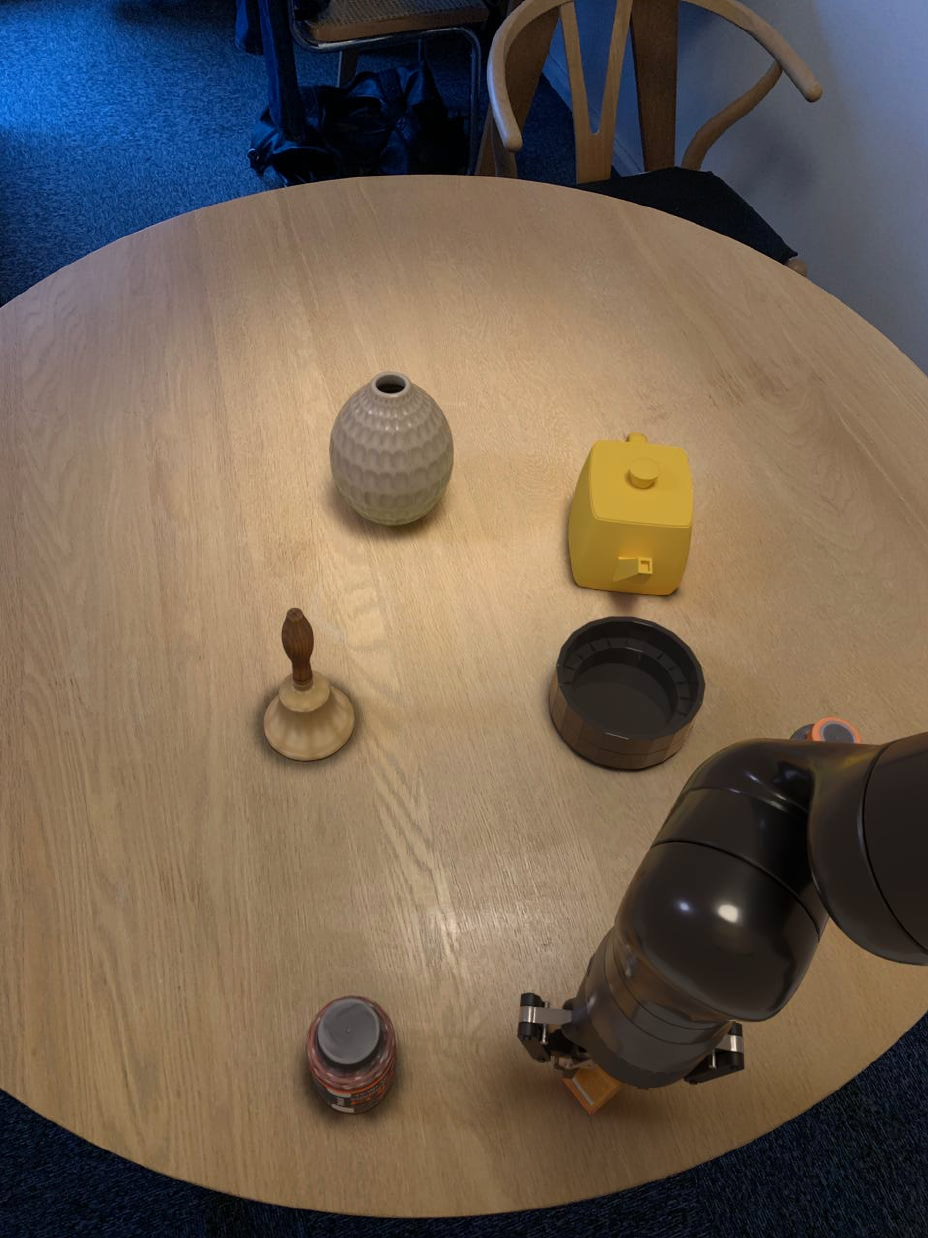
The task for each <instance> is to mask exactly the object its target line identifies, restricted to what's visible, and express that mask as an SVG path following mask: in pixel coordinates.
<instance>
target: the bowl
mask: <svg viewBox="0 0 928 1238" xmlns="http://www.w3.org/2000/svg"><path fill="white" fill-rule="evenodd" d="M705 691H706V681H705V677H704V672H703V667H702V665H701V663H700V661H699V659H698V658H697V655H695V653H694V651H693V649H692V647H690V646H689V645H688V644H687V643H686V642H685V641H684V640H682V638H680V637H679V635H677V634H676V633H675V632H674V631H672V630H670V629H668V628H666V627H664V626H663V625H660V624H658V623H657V622H655V621H652V620H648V619H644V618H639V617H637V616H632V615H631V616H629V615H625V616H624V615H623V616H622V615H621V616H620V615H610V616H606V617H602V618H597V619H594V620H590V621H588V622H586V623H585V624H583V625H581V626H580V627H579V628H577V629H575V630H574V631H572V633H571V634H570V635H569V636H568V637H567V639H566V640H565V641H564V643H563V644H562V645H561V647H560V650H559V653H558V657H557V661H556V663H555V668H554V673H553V677H552V682H551V687H550V691H549V695H548V699H549V708H550V716H551V718H552V719H553V722H554V724H555V726H556V729H557V730H558V733H559V734H560V735H561V737H562V738H563V739H564V740H565V741H566V742H567V743H568V744H569V745H570V746H571V747H572V748H573V749H574V750H575V751H576V752H577V753H578V754H581V755H582V756H585V757H586V758H588V759H590V760H591V761H592V762H593V763H597V764H599V765H603V766H607V767H611V768H615V769H644V768H647V767H651V766H653V765H656V764H660V763H663V762H664V761H666V760H667V759H668V758H670V757H671V756H672V755H674V754H675V753H677V752H678V751H679V750H680V748H681V747H682V745H683V744H684V742H685V740H686V739H687V737H688V735H689V734H690V731H691V730H692V727H693V724H694V723H695V722H696V719H697V716H698V715H699V712H700V711H701V708H702V706H703V704H704V697H705Z"/></svg>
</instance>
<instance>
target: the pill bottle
mask: <svg viewBox="0 0 928 1238" xmlns="http://www.w3.org/2000/svg"><path fill="white" fill-rule="evenodd" d="M789 739H790V740H807V741H836V742H849V743H860V744H863V741H862V737H861V735H860V733H859V731H858V730H857V729H856V728H855V727H854V726H853V725H852V724H851V723H850V722H848V721H846V720H844V719H842V718H839V717H833V716H828V717H823V718H820V719H819V720H817V721H816V722H815V723H810V724H806V725H803V726H801V727H800V728H797V730H795V731H794V732H793V733H792V734H791V736H790V737H789Z"/></svg>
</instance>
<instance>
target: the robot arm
mask: <svg viewBox="0 0 928 1238" xmlns="http://www.w3.org/2000/svg"><path fill="white" fill-rule="evenodd" d="M829 919H831V921H832V922H833V923H834V924H835V926H836V927H837V928H838V929H839V930H840V931H841V932H842V933H843V934H844V935H845V936H846V937H847V938H848V939H849V940H850V941H851V942H853V943H854V944H855V945H856V946H857V947H860V948H861V949H862V950H863V951H866V952H868V953H869V954H871V955H873V956H875V957H877V958H881V959H883V960H886V961H889V962H894V963H897V964H903V965H909V966H918V967H928V731H923V732H920V733H916V734H912V735H909V736H905V737H901V738H897V739H894V740H891V741H888V742H884V743H881V744H872V743H862V744H860V743H849V742H836V741H807V740H790V738H789V739H788V738H771V737H756V738H750V739H749V738H748V739H744V740H740V741H737V742H734V743H731V744H730V745H728V746H725V747H724V748H721V749H720V750H718V751H717V752H715V753H714V754H712V755H711V756H709V757H708V758H706V760H704V761H703V762H701V763H700V765H698V767H696V768H695V770H694V771H693V772H692V773H691V774H690V776H689V777H688V778H687V780H686V782H685V784H684V785H683V787H682V789H681V790H680V792H679V795H678V796H677V798H676V799H675V802H674V803H673V805H672V806H671V809H670V811H669V812H668V813H667V816H666V818H665V820H664V822H663V823H662V825H661V827H660V828H659V831H658V832H657V834H656V836H655V838H654V839H653V841H652V843H651V845H650V847H649V849H648V850H647V852H646V853H645V855H644V857H643V859H642V860H641V862H640V864H639V866H638V867H637V869H636V871H635V873H634V875H633V877H632V879H631V880H630V882H629V884H628V886H627V889H626V890H625V893H624V895H623V897H622V899H621V901H620V903H619V906H618V909H617V911H616V914H615V917H614V921H613V922H614V924H613V926H612V927H611V928H610V929H609V930H608V931H607V932H606V933H605V935H604V936H603V938H602V939H601V941H600V942H599V944H598V947H597V948H596V950H595V952H593V954H592V956H590V958H589V961H588V964H587V968H586V972H585V974H584V976H583V978H582V980H581V982H580V985H579V987H578V990H577V993H576V996H574V997H572V998H568V999H567V1000H566V1001H565V1002H564V1003H563V1005H562V1006H561V1007H562V1008H558V1007H551V1002H550V1001H548V1000H543V999H542V997H541V996H540V995H539V994H537V993H535V992H531V991H529V992H523V993H521V994H520V997H519V998H520V1000H519V1011H518V1021H517V1023H518V1024H517V1035H516V1037H517V1039H518V1041H519V1042H520V1044H521V1045H522V1046H523V1048H524V1049H525V1051H526V1052H527V1053H528V1055H529V1056H530V1058H531V1059H532V1060H534V1061H536V1062H538V1063H541V1064H545V1063H549V1062H551V1061H552V1057H553V1069H554V1070H556V1071H561V1079H562V1078H567V1079H573V1078H574V1076H575V1074H576V1073H577V1071H578V1069H579V1067H580V1068H584V1069H589V1070H594V1069H596V1068H599V1067H600V1068H601V1069H602V1070H603V1071H605V1072H606V1073H607V1074H608V1075H610V1076H611V1077H613V1078H614V1079H616V1080H618V1081H620V1082H622V1083H624V1084H625V1085H627V1086H630V1087H632V1088H636V1089H637V1090H642V1091H649V1090H650V1089H660V1088H664V1087H669V1086H671V1085H673V1084H674V1085H675V1083H678V1082H679V1081H681V1080H682V1081H683V1082H685V1083H688V1084H689V1085H691V1086H697V1085H700V1084H704V1083H706V1082H710V1081H713V1080H716V1079H719V1078H722V1077H725V1076H728V1075H729V1076H730V1075H732V1074H734V1073H738V1072H741V1071H743V1070H745V1069H746V1068H745V1044H744V1042H745V1041H744V1031H743V1029H744V1028H743V1024H742V1023H740V1022H743V1023H751V1024H752V1023H753V1024H754V1023H764V1022H767V1021H768V1020H770V1019H773V1018H775V1017H776V1016H777V1015H778V1014H779V1013H780V1012H781V1011H782V1010H783V1009H784V1008H785V1007H786V1005H788V1003H789V1002H790V1001H791V1000H792V998H793V996H794V995H795V994H796V992H797V991H798V989H799V988H800V986H801V985H802V982H803V980H804V978H805V977H806V975H807V972H808V970H809V968H810V966H811V963H812V962H813V958H814V956H815V954H816V951H817V949H818V946H819V944H820V942H821V939H822V936H823V934H824V932H825V929H826V927H827V924H828V922H829Z"/></svg>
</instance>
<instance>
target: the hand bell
mask: <svg viewBox="0 0 928 1238" xmlns="http://www.w3.org/2000/svg"><path fill="white" fill-rule="evenodd" d="M280 637H281V643H282V647H283V651H284V653H285V655H286V656H287V658H288V659H289V660H290V662H291V670H292V671H291V673H289V674H288V675H287V676H286V677H285V678H284V679H282V682H281V683H280V685H279V689H278V694H277V695H276V696H275V697H274V698H273V699H272V701H271V702H270V703H269V704H268V706H267V707H266V711H265V713H264V717H263V722H262V723H263V724H262V725H263V733H264V736H265V738H266V741H267V742H268V744H269V745H270V746H271V748H273V749H274V750H275V751H276V752H278V753H279V754H281V755H282V756H283V757H286V758H288V759H292V760H296V761H307V762H308V761H317V760H321V759H324V758H326V757H329V756H331V755H333V754H334V753H336V752H338V751H339V750H340V749H342V747H343V746H344V745H345V744H346V743H347V742H348V741H349V739H350V737H351V735H352V733H353V732H354V727H355V725H356V724H355V722H356V715H355V710H354V707H353V704H352V701H350V699H349V698H348V697H347V696H346V694H345V693H343V692H342V691H341V690H340V689H338V688H336V687H335V686H332V685H330V683H329V681H328V679H327V678H326V676H325V675H323V674H322V673H321V672H319V671H316V670H313V669H312V665H311V658H312V655H313V651H314V647H315V635H314V630H313V627H312V624H311V622H310V621H309V620H308V618H307V617H306V616H305V613H304V612H303V610H302V609H301V608H299V607H291V608H289V609H288V610H287V611H286V615H285V619H284V621H283V624H282V627H281V632H280Z"/></svg>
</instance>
